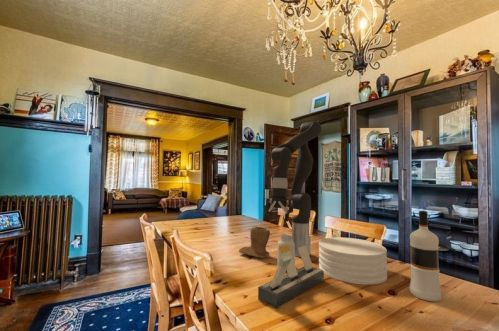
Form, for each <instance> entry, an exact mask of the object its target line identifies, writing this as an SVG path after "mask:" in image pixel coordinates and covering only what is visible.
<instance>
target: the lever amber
mask: <svg viewBox="0 0 499 331" xmlns="http://www.w3.org/2000/svg"><path fill="white" fill-rule="evenodd" d="M279 249H280V252H281V254H282V257H283V258H284V257H286V256H290V257H291V258H292V255H291V252H290V248H289V245H284V246H281V247H279ZM286 274H288V276H289V279H290V280H291V279H293V278H295V277H297V276H298V273H297V267H296V264H294V261H293V258H292V260H291V262H290V264H289V265H288V268H287V271H286Z"/></svg>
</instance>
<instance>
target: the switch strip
mask: <svg viewBox="0 0 499 331" xmlns="http://www.w3.org/2000/svg"><path fill="white" fill-rule="evenodd" d="M296 270H297V273H298V276H297V277H295V278H293V279H291V280H290V279H289V276H288V273H285V275H284V277H283V279H282V282H281V284H280V285H279V286H277V287H275V288H272V289H270V285H271V282H272V280H271V281H268V282H266V283H264V284H262V285H259V286H257V299H258V300H259V301H260V302H263V303H265V304H267V305H268V306H271V307H272V308H274V309H278V308H280V307H282V306H284V305H285V304H287V303H288V302H290V301H293V299H296V298H297V297H299V296H301V295H302V294H304V293H306V292H307V291H309V290H310V289H312V288H314V287H316V286H318V285H319V284H321V283H323V282H324V281H325V278H324V275H325V274H324V271H323V270H320V269H319V268H316V267H314V266H313V269H311V270H309V271H306V270H305V267H304V266H301V267H300V268H296Z"/></svg>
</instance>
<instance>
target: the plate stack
mask: <svg viewBox="0 0 499 331" xmlns="http://www.w3.org/2000/svg"><path fill="white" fill-rule="evenodd" d="M387 251H388V250H387V248H386V247H385V246H383V245H381V244H379V243H376V242H373V241H370V240H366V239H365V240H364V239H361V238H352V237H341V236H340V237H337V236H335V237H325V238H321V239H320V240H319V241H318V269H320V270H323V271H324V275H325V276H327V277H329V278H332V279H334V280H337V281H342V282H343V283H344V282H345V283H349V284H357V285H377V284H382V283H385V282H386V281H387V279H388V274H387V273H388V268H387V267H388V262H387V260H388V258H387V257H388V256H387Z"/></svg>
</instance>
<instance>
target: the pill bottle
mask: <svg viewBox="0 0 499 331" xmlns="http://www.w3.org/2000/svg"><path fill="white" fill-rule="evenodd" d="M284 245H289V248H290V252H291V255H292V258H293V261H294V264H295V263H296V256H295V243H294V242H293V241H292V233H281V234H280V240H278V241H277V247H276V248H277V255H276V256H277V259H276V260H277V267H278V266H279V262H280V260H281V258H283V257H282V254H281V252H280V249H279V247H281V246H284ZM295 265H296V264H295ZM286 272H287V270H286Z"/></svg>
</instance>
